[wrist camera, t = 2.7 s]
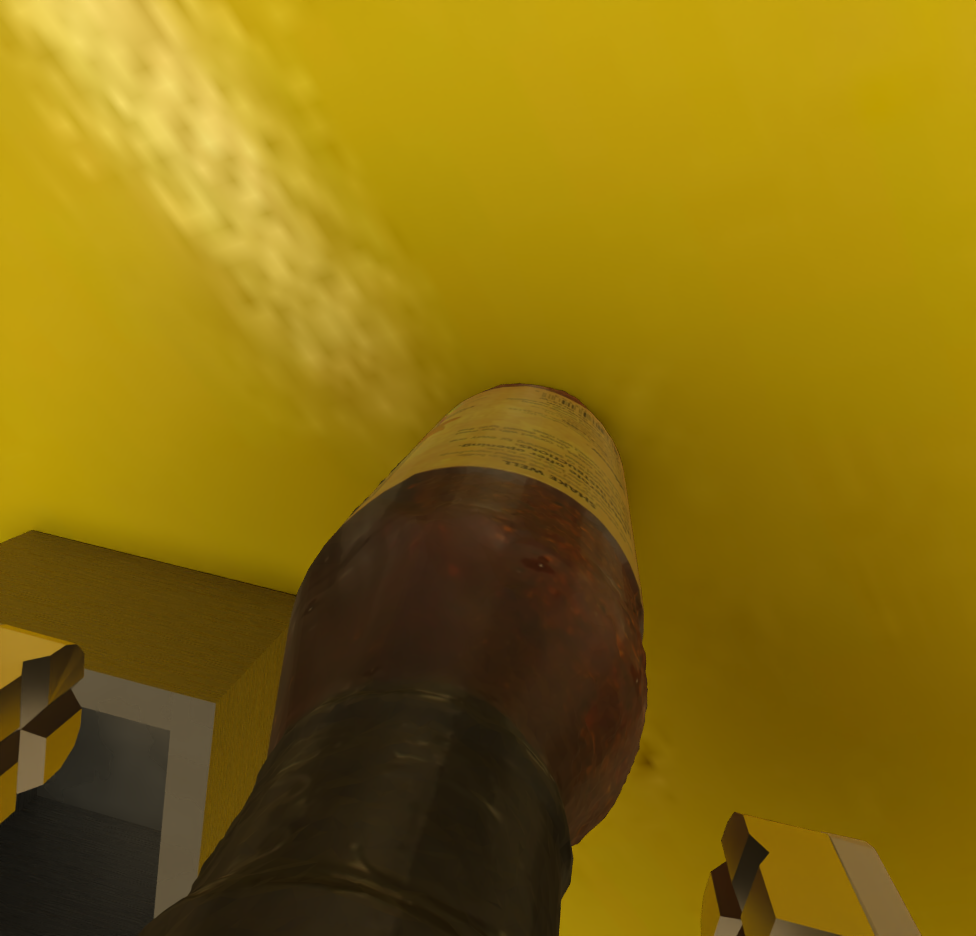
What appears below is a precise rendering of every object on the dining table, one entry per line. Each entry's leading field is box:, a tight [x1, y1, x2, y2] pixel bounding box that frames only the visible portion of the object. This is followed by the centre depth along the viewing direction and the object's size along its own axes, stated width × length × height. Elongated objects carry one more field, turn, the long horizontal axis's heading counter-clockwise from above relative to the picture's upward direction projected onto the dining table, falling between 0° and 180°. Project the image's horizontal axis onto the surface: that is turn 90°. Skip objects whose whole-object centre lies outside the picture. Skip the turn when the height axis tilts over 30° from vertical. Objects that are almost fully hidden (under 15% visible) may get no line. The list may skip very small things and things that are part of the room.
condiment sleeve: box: [0, 530, 296, 936], centre depth 25 cm, size 11×12×7 cm
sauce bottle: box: [138, 384, 648, 936], centre depth 14 cm, size 7×6×20 cm
